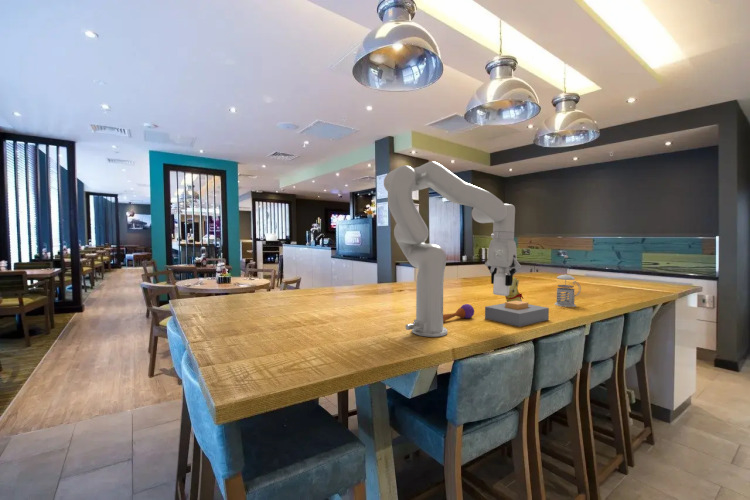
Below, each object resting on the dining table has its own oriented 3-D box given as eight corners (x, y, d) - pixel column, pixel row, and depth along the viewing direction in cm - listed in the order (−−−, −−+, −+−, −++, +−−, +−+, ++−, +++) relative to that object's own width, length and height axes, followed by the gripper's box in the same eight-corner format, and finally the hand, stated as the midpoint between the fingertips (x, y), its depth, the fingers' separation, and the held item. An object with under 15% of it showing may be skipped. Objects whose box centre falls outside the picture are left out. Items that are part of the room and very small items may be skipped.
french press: (559, 302, 180) (560, 254, 179) (583, 305, 171) (584, 255, 170) (550, 304, 174) (551, 255, 173) (575, 308, 165) (577, 256, 164)
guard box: (519, 326, 130) (519, 313, 130) (484, 318, 144) (485, 306, 143) (548, 319, 141) (548, 307, 141) (514, 312, 155) (514, 301, 154)
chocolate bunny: (501, 308, 163) (501, 277, 162) (515, 306, 169) (516, 276, 168) (514, 311, 157) (514, 279, 157) (528, 308, 163) (528, 277, 163)
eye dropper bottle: (502, 296, 127) (503, 263, 126) (491, 293, 132) (492, 262, 131) (510, 295, 128) (512, 263, 128) (499, 293, 134) (501, 262, 133)
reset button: (517, 311, 138) (517, 304, 138) (505, 309, 142) (505, 302, 142) (528, 309, 142) (528, 302, 142) (516, 307, 147) (516, 300, 147)
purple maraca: (431, 312, 138) (465, 303, 149) (433, 326, 138) (467, 316, 149) (441, 312, 133) (475, 302, 144) (444, 327, 133) (478, 316, 144)
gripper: (478, 236, 135) (476, 282, 135) (517, 237, 120) (515, 288, 121) (490, 237, 139) (489, 281, 139) (530, 237, 124) (528, 287, 125)
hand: (501, 284), depth 130 cm, fingers closed on eye dropper bottle, 5 cm apart
